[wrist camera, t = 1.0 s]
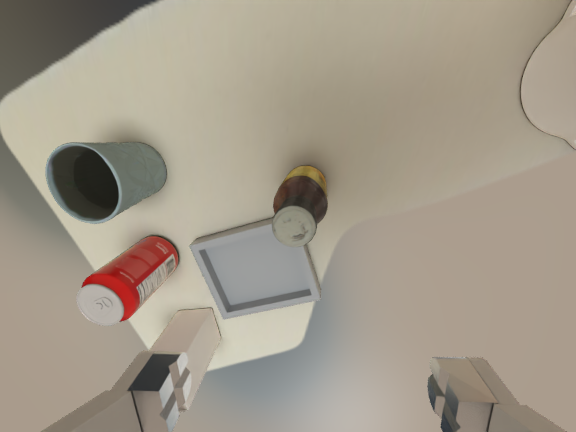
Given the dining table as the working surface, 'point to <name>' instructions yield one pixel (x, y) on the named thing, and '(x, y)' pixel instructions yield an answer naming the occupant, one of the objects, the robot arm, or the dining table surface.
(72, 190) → the blue gray cup
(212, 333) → the milk carton
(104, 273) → the soda can
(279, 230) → the sauce bottle
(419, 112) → the dining table surface
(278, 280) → the tray
